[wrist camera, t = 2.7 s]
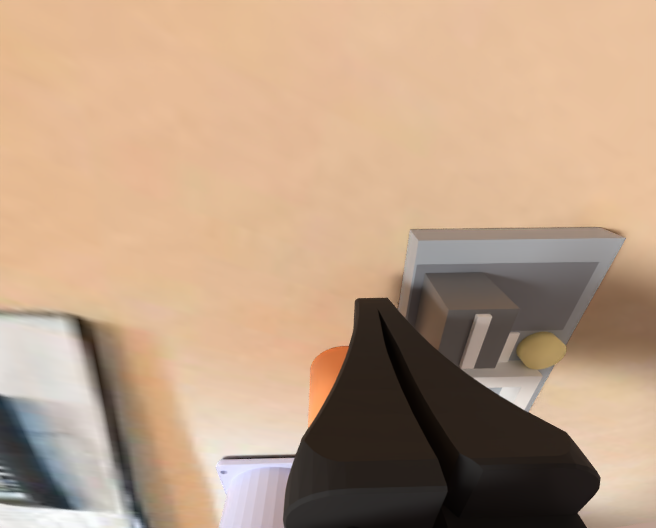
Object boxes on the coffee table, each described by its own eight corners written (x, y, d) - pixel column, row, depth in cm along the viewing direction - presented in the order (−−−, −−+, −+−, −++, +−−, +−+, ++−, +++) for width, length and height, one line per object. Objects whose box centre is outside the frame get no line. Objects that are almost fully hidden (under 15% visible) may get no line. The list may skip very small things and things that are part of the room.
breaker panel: (504, 417, 19) (524, 452, 17) (381, 420, 19) (388, 455, 17) (599, 227, 12) (651, 248, 10) (410, 229, 12) (426, 251, 10)
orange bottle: (374, 391, 17) (402, 536, 12) (311, 393, 17) (306, 539, 11) (380, 345, 16) (416, 490, 10) (309, 346, 15) (301, 493, 10)
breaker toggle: (466, 325, 13) (497, 371, 11) (414, 326, 13) (434, 372, 11) (483, 272, 12) (522, 311, 9) (425, 273, 12) (450, 313, 9)
